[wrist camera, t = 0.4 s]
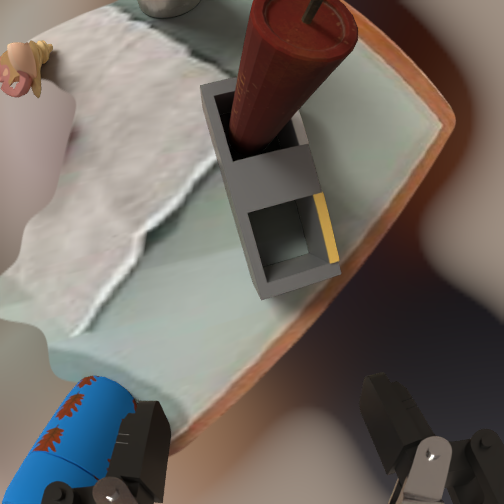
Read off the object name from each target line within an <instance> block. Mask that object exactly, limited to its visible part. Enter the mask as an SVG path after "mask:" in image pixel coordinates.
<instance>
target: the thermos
mask: <svg viewBox="0 0 504 504" xmlns="http://www.w3.org/2000/svg"><path fill="white" fill-rule="evenodd" d="M136 408H137V405H136V402H135V400H134V398H133V397H132V396H131V394H130V393H129V392H128V391H127V390H126V389H125V388H124V387H122V386H121V385H120V384H118V383H117V382H115V381H113V380H110V379H108V378H106V377H99V376H90V377H85V378H83V379H82V380H81V381H80V382H78V383H77V385H76V386H75V387H74V388H73V389H72V390H71V392H70V393H69V394H68V395H67V396H66V398H65V399H64V401H63V402H62V404H61V405H60V407H59V408H58V410H57V411H56V412H55V414H54V415H53V417H52V418H51V420H50V421H49V423H48V424H47V426H46V427H45V429H44V430H43V432H42V433H41V435H40V436H39V438H38V439H37V441H36V442H35V444H34V445H33V447H32V449H31V450H30V452H29V454H28V456H27V457H26V458H25V460H24V461H23V463H22V465H21V466H20V468H19V470H18V471H17V473H16V474H15V476H14V478H13V480H12V481H11V483H10V485H9V486H8V488H7V490H6V492H5V495H4V498H3V501H2V504H41V501H42V497H43V493H44V490H45V488H46V487H47V486H48V485H49V484H50V483H52V482H55V481H62V482H64V483H66V484H68V485H69V486H70V487H71V488H78V487H89V486H94V485H95V484H96V482H97V481H99V480H100V479H102V478H105V476H106V474H107V471H108V467H109V464H110V460H111V456H112V452H113V449H114V445H115V443H116V438H117V435H118V431H119V428H120V424H121V422H122V420H123V419H124V418H125V417H126V415H127V414H128V413H135V412H136Z"/></svg>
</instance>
